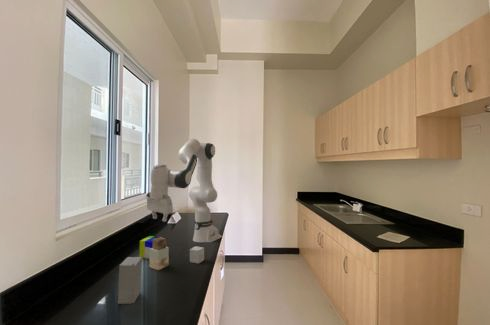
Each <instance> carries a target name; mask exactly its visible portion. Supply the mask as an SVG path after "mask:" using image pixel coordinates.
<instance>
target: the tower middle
mask: <svg viewBox="0 0 490 325" xmlns="http://www.w3.org/2000/svg"><path fill="white" fill-rule="evenodd" d="M169 250H170V248H169V247H168V246H166V248H164V249H160V250H155V249H153V248H150V250H149V258H148V259H150V258H151V259H154V260H157V261H159V260H161V259H164V258H166V257H169V254H170V253H169V252H170V251H169ZM169 258H170V257H169Z"/></svg>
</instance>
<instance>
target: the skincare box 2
mask: <svg viewBox="0 0 490 325" xmlns="http://www.w3.org/2000/svg"><path fill="white" fill-rule="evenodd" d="M203 261H205V247H203V246H198V245H197V246H196V245H195V246H193V247H192V248H190V249H189V262H190V263H194V264H200V263H202V262H203Z"/></svg>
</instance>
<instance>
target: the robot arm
mask: <svg viewBox="0 0 490 325" xmlns="http://www.w3.org/2000/svg"><path fill="white" fill-rule="evenodd" d="M215 154H216V147H215V145H214V144H213V143H210V142H208V143H207V142H200V141H199V140H198V139H196V138H191V139H189V140H187V141H186V142H185V143H184V144H183V145H182V146H181V147H180V149H179V151H178V159H179V160H180V162H182V163H183V164H185V167H184V169H181V170H171V169H169V168H168V166H167V165H166V164H157V165H154V166H152V167H151V168H152V169H151V172H150V183H151V187H150V191H149V192H147V193H146V194H145V195H146V208H147V210H148V211H151V215H152V219H154V220H157V219H158V215H157V213H160V214H163V217H162V219H161V221H162V222H167V220H168V215H170V214H172V213H173V210H174V206H173V201H172V199H171V197H170V196H169V188H177V189H186V188H188V187H189V185H190V184H191V182H192V177H193V175H194V172H195V169H196V180H197V181H198V184H199V185H198V186H193V187H191V188H190V189H189V191H188V196H189V198H190V200H191V201H192V204H193V208H194V225H193V226H194V231H193V237H192V241H193V242H194V243H213V242H214V241H217V240H219V239H222V237H223V235H221V234H220V233H219V231H220V230H219V229H218V228H217V227H215V225H213V224H215V220H214V219H213V220H212V219H211V209H210V207H209V206H208V204H210V203H213V202H215V201H216V200H217V198H218V191H217V190H216V188H214V184H213V180H212V179H213V178H212V177H213V176H212V174H213V173H212V172H213V169H212V168H213V160H212V159H213V158H214V156H215Z"/></svg>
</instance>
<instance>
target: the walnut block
mask: <svg viewBox="0 0 490 325" xmlns="http://www.w3.org/2000/svg"><path fill="white" fill-rule="evenodd" d="M158 237H159V238H155V239H153V249H155V250H160V249H164V248H166V247H167V238H166V237H164V238H162V237H163V236H158Z"/></svg>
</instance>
